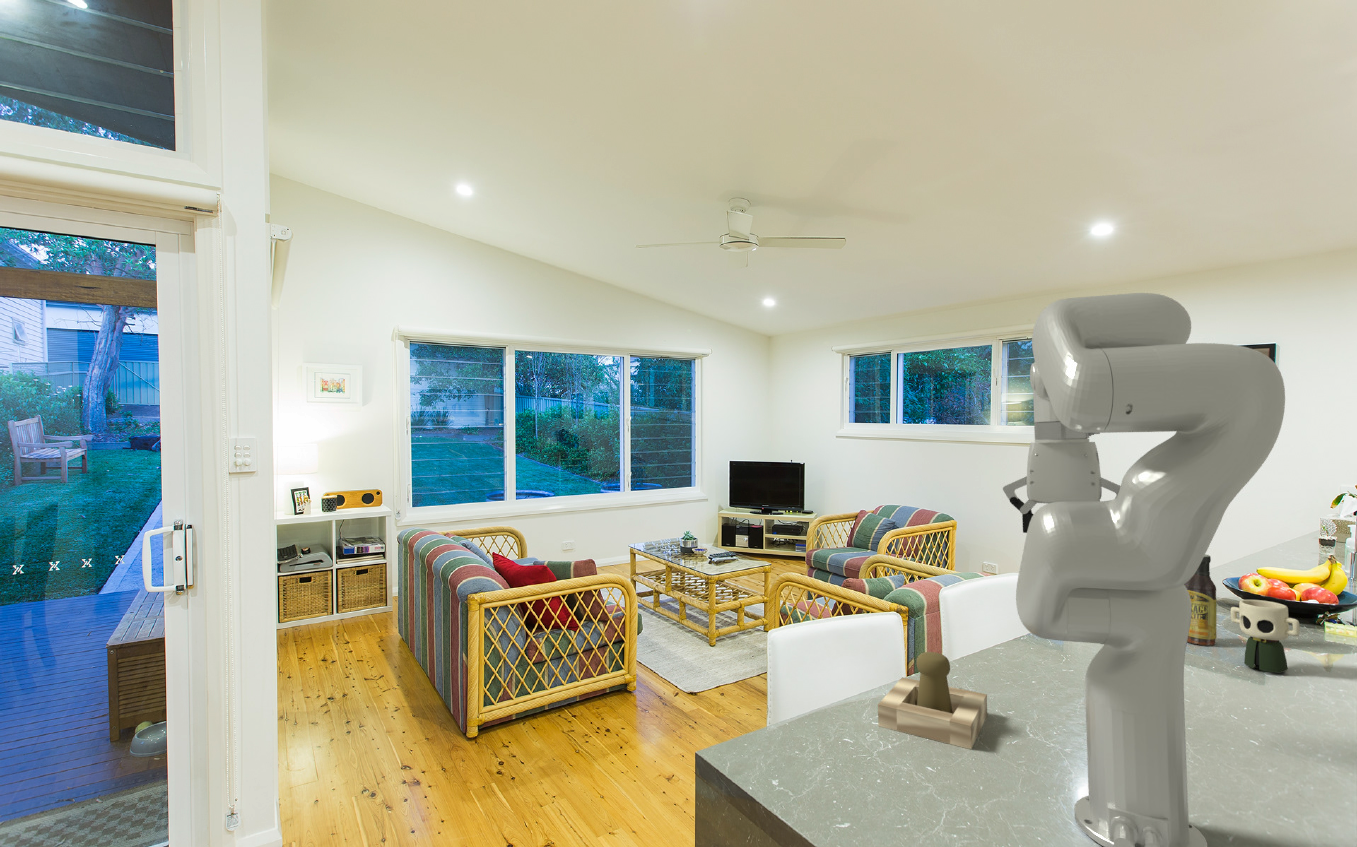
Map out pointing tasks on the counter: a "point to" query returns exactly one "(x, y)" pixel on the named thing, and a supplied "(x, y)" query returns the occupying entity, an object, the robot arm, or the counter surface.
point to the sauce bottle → (1202, 605)
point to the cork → (934, 682)
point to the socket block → (934, 714)
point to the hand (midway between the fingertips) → (1064, 539)
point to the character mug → (1265, 633)
